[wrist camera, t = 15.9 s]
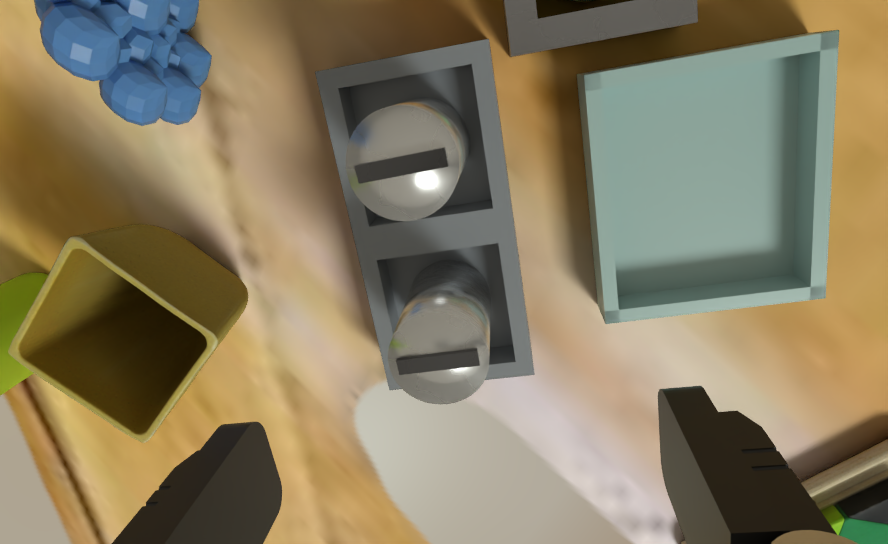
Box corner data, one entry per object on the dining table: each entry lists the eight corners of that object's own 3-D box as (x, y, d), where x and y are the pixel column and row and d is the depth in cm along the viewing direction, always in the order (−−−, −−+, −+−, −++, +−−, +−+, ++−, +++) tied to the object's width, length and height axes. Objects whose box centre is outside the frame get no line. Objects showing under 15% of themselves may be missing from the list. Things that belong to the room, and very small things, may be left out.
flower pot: (108, 291, 39) (1, 355, 30) (168, 193, 36) (68, 233, 28) (217, 366, 40) (143, 447, 32) (283, 277, 37) (221, 340, 29)
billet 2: (484, 254, 34) (480, 309, 27) (496, 328, 36) (496, 402, 28) (403, 265, 35) (376, 323, 27) (418, 338, 37) (398, 412, 29)
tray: (809, 32, 30) (838, 30, 27) (800, 280, 34) (825, 298, 32) (576, 74, 32) (584, 74, 29) (597, 305, 36) (605, 324, 33)
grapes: (80, -92, 31) (-159, -181, 20) (197, -116, 30) (17, -224, 19) (147, 127, 35) (-20, 158, 23) (252, 112, 34) (131, 136, 23)
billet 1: (460, 89, 31) (445, 94, 23) (477, 179, 33) (468, 212, 25) (372, 108, 32) (330, 118, 24) (393, 195, 33) (359, 231, 26)
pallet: (332, 70, 33) (315, 71, 29) (489, 41, 31) (488, 38, 28) (398, 363, 39) (389, 390, 36) (531, 348, 37) (534, 374, 34)
